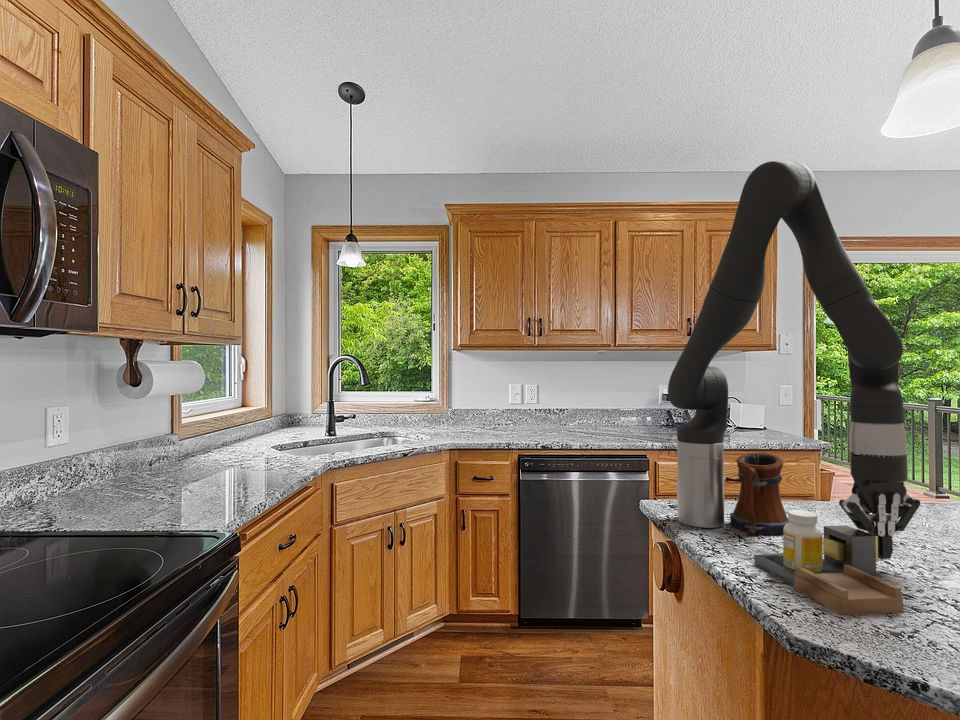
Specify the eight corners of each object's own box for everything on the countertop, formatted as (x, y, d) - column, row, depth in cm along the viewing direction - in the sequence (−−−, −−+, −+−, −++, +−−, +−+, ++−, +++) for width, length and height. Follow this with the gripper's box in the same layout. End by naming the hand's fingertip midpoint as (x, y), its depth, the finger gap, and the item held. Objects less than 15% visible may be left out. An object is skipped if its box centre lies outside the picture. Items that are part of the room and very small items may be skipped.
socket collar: (754, 564, 91) (754, 554, 91) (810, 561, 92) (809, 552, 92) (795, 587, 81) (794, 577, 81) (857, 584, 82) (856, 574, 83)
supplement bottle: (779, 574, 87) (778, 513, 87) (788, 565, 91) (787, 507, 91) (818, 583, 83) (817, 519, 83) (826, 573, 87) (825, 512, 87)
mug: (778, 547, 100) (777, 465, 100) (712, 536, 107) (712, 459, 108) (796, 526, 114) (795, 454, 114) (737, 517, 121) (736, 449, 121)
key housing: (824, 565, 91) (823, 526, 91) (846, 564, 91) (845, 525, 91) (852, 579, 85) (851, 536, 85) (876, 578, 85) (875, 535, 85)
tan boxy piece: (818, 552, 90) (818, 528, 90) (853, 551, 91) (852, 527, 91) (842, 563, 85) (841, 537, 85) (878, 561, 86) (877, 536, 86)
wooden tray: (794, 588, 81) (794, 566, 81) (850, 586, 82) (850, 564, 82) (840, 615, 72) (840, 590, 72) (903, 612, 73) (902, 588, 73)
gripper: (894, 445, 93) (898, 548, 93) (823, 448, 92) (826, 552, 92) (936, 452, 86) (940, 563, 86) (858, 454, 85) (862, 568, 84)
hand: (881, 557), depth 89 cm, fingers closed
